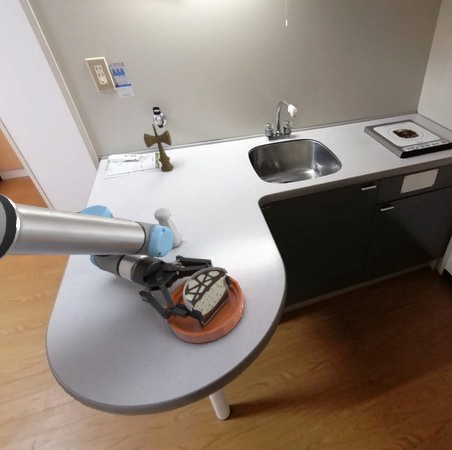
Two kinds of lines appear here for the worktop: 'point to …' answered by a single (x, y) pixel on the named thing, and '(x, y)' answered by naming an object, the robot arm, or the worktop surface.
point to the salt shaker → (168, 224)
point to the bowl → (216, 325)
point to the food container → (206, 292)
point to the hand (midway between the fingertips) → (216, 298)
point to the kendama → (160, 147)
